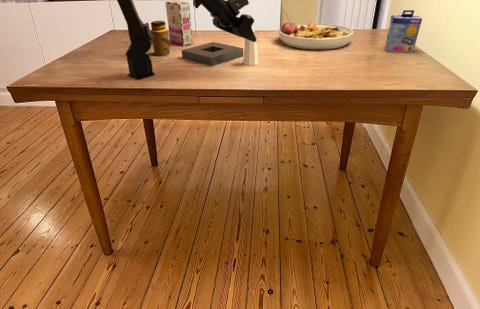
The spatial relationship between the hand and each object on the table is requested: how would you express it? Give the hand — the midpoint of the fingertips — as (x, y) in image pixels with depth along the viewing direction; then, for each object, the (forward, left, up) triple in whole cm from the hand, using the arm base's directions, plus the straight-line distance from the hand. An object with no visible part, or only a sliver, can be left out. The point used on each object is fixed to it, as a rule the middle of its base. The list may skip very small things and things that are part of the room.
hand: (248, 38), depth 112 cm
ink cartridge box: (+48, -33, -9) cm, 59 cm away
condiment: (-12, +35, -9) cm, 38 cm away
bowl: (+41, -1, -9) cm, 42 cm away
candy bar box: (+5, +43, -9) cm, 44 cm away
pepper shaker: (+1, 0, -9) cm, 9 cm away
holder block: (-2, +16, -9) cm, 18 cm away
